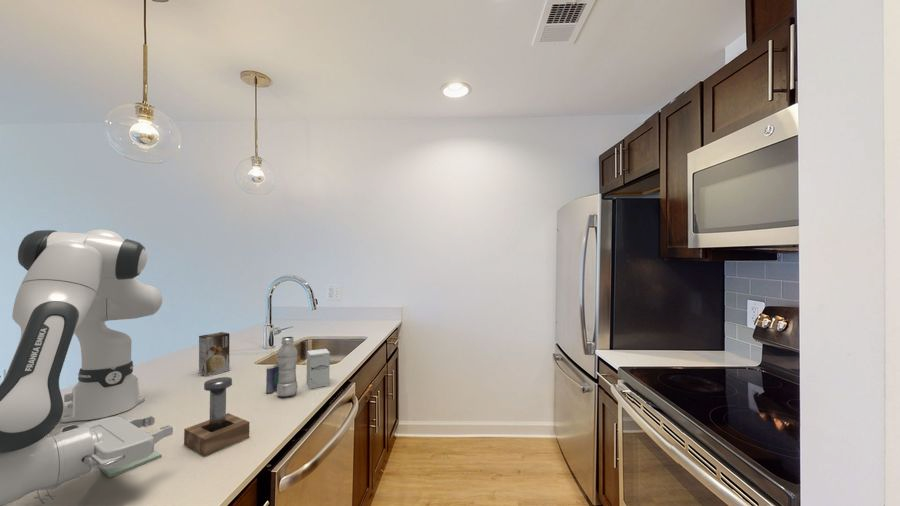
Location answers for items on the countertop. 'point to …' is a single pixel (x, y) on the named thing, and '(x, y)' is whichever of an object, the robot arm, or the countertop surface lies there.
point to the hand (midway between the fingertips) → (162, 424)
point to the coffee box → (213, 353)
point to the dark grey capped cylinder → (217, 401)
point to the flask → (272, 378)
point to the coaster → (131, 464)
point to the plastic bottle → (287, 368)
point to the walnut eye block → (216, 435)
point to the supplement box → (318, 368)
